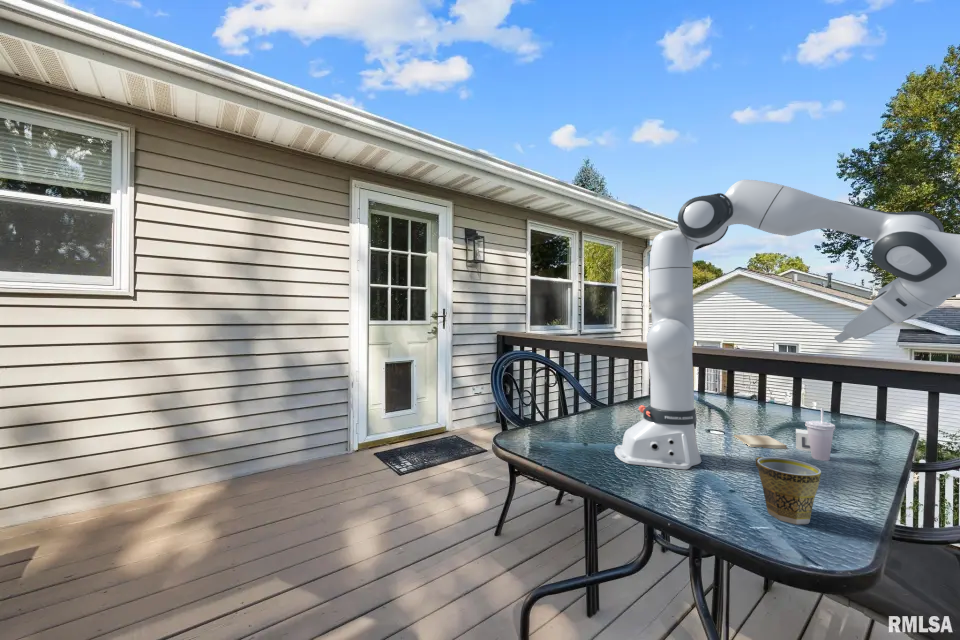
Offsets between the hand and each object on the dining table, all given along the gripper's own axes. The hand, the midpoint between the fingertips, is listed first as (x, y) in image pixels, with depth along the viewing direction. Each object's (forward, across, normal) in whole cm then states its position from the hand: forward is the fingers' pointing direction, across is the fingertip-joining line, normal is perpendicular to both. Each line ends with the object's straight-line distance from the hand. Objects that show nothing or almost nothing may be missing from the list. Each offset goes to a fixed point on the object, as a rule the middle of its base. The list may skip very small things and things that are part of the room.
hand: (845, 334), depth 99 cm
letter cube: (+34, -6, +21) cm, 40 cm away
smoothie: (+28, +1, +23) cm, 37 cm away
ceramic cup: (+14, +44, +21) cm, 51 cm away
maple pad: (+41, 0, +14) cm, 43 cm away
